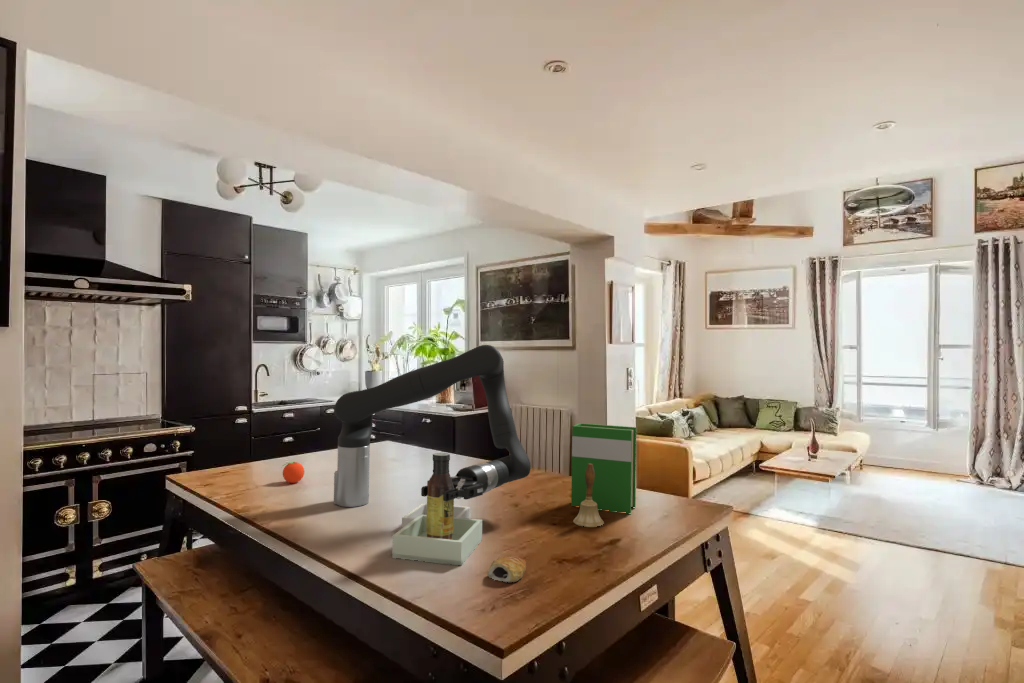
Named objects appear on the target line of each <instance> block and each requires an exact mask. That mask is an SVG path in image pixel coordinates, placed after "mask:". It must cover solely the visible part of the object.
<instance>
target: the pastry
mask: <svg viewBox="0 0 1024 683" xmlns="http://www.w3.org/2000/svg"><path fill="white" fill-rule="evenodd" d="M526 570H527V562H526V560H525V559H524V558H520V557H519V556H516V555H513V556H511V555H510V556H501V557H498V558H497V559H496V560H493V561H492V563H491V564H490V567H489V569H488V571H487V572H486V574H487V575H486V576H488V577H489V579H490V578H492V579H494V580H493V581H495V580H498V581H497V582H502V581H503V583H507V582H508V583H512V582H513V583H515V582H519V581H520V579H522V578H523V576H524V575H525V573H526ZM492 579H491V580H492Z"/></svg>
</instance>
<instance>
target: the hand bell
mask: <svg viewBox="0 0 1024 683" xmlns="http://www.w3.org/2000/svg"><path fill="white" fill-rule="evenodd" d="M594 478H595V472H594V468H593V464H591V463H589V464H588V466H587V469H586V472H585V481H586V485H587V491H586V500H584V501H582V502H581V505H580V508H579V511H578V514H577V515H576V516H575V518H574V519H573V521H572V522H573V524H575V525H576V526H579V527H583V526H584V528H598V527H597V526H600V527H602V526H604V525H605V521H604V520H603V519H602V517H601V516H600V514H599V510H598V508H597V503H596V502H594V501H593V500H592V487H593V483H594ZM603 524H604V525H603ZM601 525H602V526H601Z"/></svg>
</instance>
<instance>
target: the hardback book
mask: <svg viewBox="0 0 1024 683" xmlns="http://www.w3.org/2000/svg"><path fill="white" fill-rule="evenodd" d="M571 430H572V433H571V434H572V438H571V441H572V442H571V443H572V444H571V446H572V447H571V495H570V496H571V500H570V502H571V503H570V504H571V507H572V506H579V507H580V505H581V502H582V501H584V500H586V491H587V485H586V481H585V472H586V469H587V466H588V464H589V463H591V464H593V468H594V472H595V478H594V483H593V487H592V500H593V501H594V502H596V503H597V508H598V509H602V510H609V511H617V512H626V513H631V514H632V508H631V507H635V508H636V498H637V497H636V495H637V494H636V488H637V486H636V484H637V427H636V426H623V425H611V424H609V425H608V424H598V423H597V424H595V423H594V424H593V423H582V422H581V423H580V422H578V423H577V424H575V425H572V429H571ZM579 507H578V508H579Z"/></svg>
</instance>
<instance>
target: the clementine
mask: <svg viewBox="0 0 1024 683" xmlns="http://www.w3.org/2000/svg"><path fill="white" fill-rule="evenodd" d="M282 467H283V470H282V477H283V479H284V480H285V482H287V483H291V484H295V483H298V482H300V481H301V480H302V479H303V478H304V475H305V468H304V466H303V465H302V463H300V462H295V461H293V462H287V463H285V464H283V465H282Z"/></svg>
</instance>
